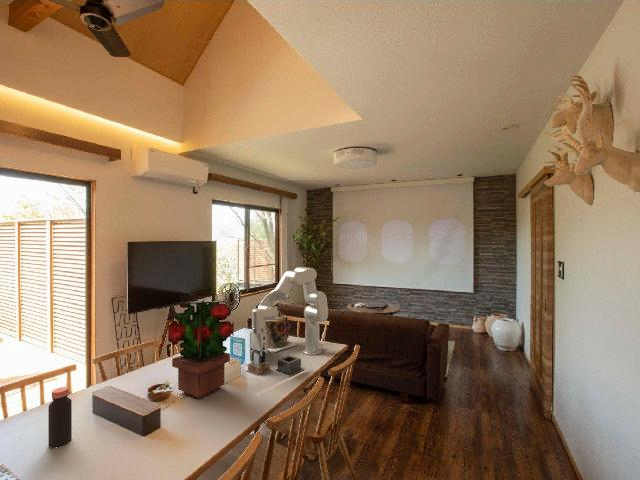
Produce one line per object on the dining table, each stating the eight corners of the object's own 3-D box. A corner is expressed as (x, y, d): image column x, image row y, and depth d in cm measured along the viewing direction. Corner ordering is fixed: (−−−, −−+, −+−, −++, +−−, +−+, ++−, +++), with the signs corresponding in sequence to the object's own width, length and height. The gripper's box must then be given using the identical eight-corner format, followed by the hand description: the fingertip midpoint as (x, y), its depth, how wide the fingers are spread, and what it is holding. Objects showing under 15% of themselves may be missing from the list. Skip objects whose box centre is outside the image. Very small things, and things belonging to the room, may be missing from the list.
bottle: (47, 442, 120) (47, 389, 120) (70, 434, 125) (70, 383, 125) (49, 451, 115) (49, 395, 115) (72, 442, 120) (72, 389, 120)
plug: (259, 368, 187) (258, 348, 187) (263, 370, 184) (263, 349, 184) (253, 370, 183) (253, 349, 183) (258, 372, 181) (258, 351, 181)
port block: (289, 365, 193) (289, 354, 193) (303, 370, 186) (303, 358, 186) (274, 371, 184) (274, 359, 184) (289, 377, 177) (289, 364, 177)
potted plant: (205, 377, 176) (204, 296, 176) (233, 387, 165) (233, 300, 165) (168, 394, 157) (168, 303, 157) (197, 406, 146) (197, 308, 146)
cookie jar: (251, 346, 229) (251, 302, 229) (276, 338, 248) (276, 297, 248) (274, 354, 213) (274, 306, 214) (299, 344, 232) (299, 301, 232)
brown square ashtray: (259, 366, 191) (259, 358, 191) (272, 371, 185) (272, 362, 185) (244, 372, 183) (244, 364, 183) (257, 377, 176) (257, 368, 176)
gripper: (273, 331, 181) (273, 362, 181) (253, 326, 192) (253, 355, 192) (263, 334, 175) (263, 366, 175) (243, 328, 186) (243, 359, 186)
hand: (258, 360), depth 184 cm, fingers open, 6 cm apart
